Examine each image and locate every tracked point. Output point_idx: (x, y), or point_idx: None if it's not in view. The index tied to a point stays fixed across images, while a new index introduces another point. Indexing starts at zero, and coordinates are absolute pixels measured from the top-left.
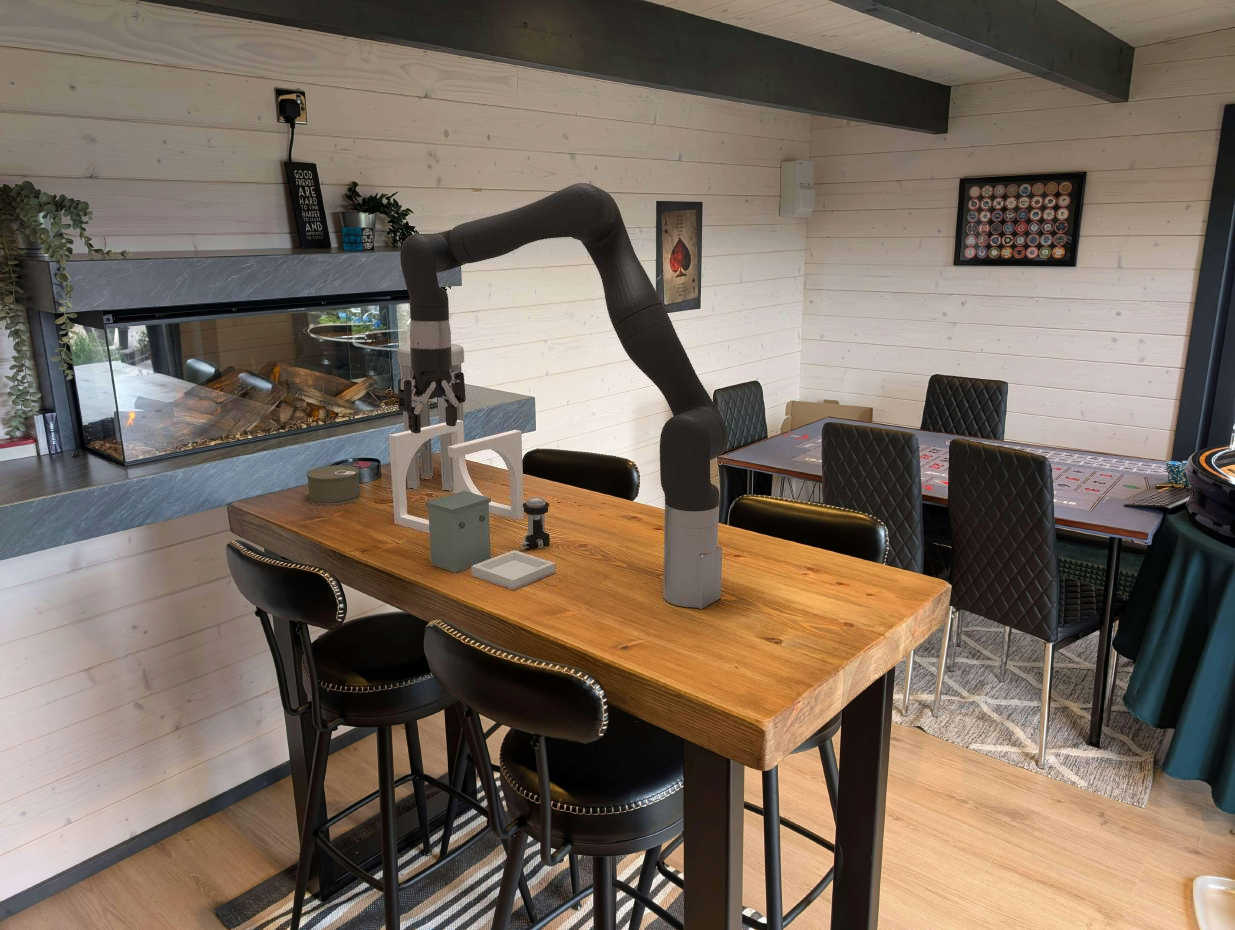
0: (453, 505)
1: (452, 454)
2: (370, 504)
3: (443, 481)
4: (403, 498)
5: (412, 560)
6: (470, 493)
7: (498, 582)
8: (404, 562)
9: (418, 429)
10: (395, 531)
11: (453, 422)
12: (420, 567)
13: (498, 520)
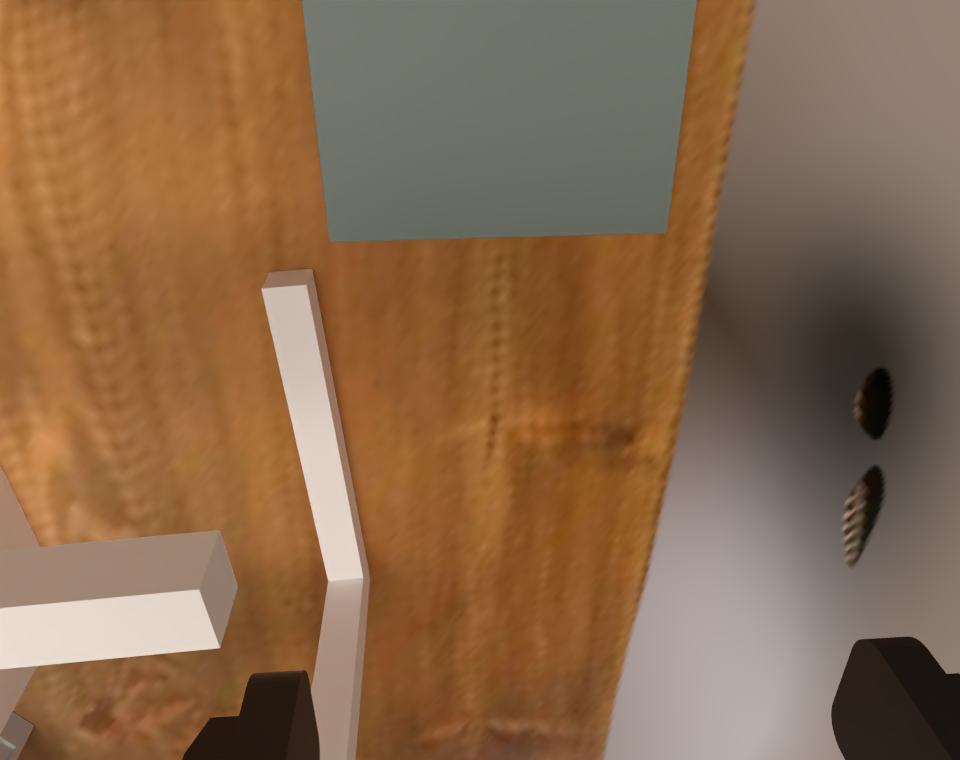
0: (621, 7)
1: (221, 566)
2: None
3: (11, 756)
4: (334, 634)
5: None
6: (336, 158)
7: None
8: (622, 239)
9: (935, 669)
10: (419, 517)
11: (287, 711)
12: None
13: (8, 355)
